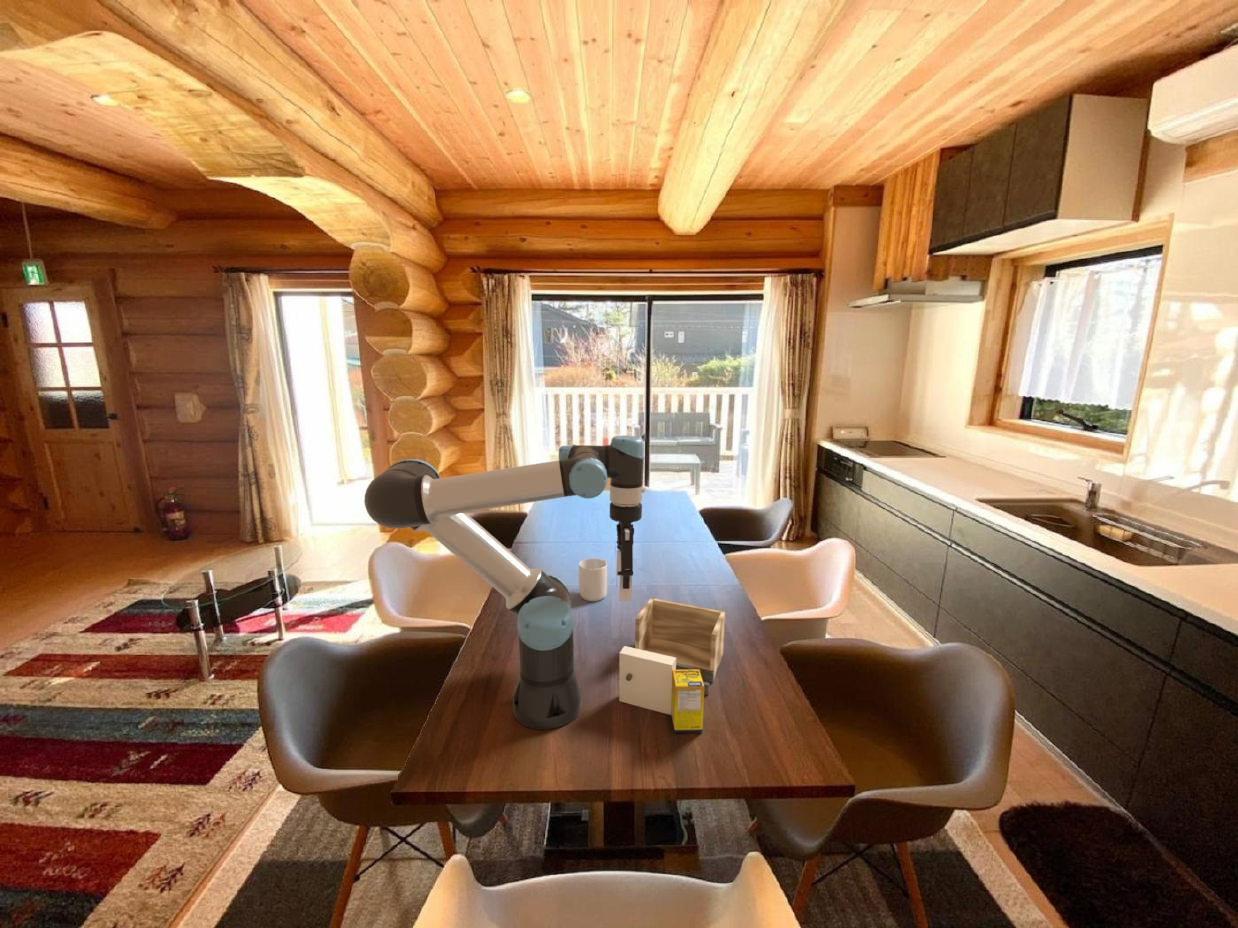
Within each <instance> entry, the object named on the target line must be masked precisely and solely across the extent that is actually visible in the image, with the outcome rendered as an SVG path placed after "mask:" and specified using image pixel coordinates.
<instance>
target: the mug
mask: <svg viewBox="0 0 1238 928" xmlns="http://www.w3.org/2000/svg"><path fill="white" fill-rule="evenodd" d="M578 585H579V586H578V589H579V596H580V597H581V598H582V599H583V600H585V601H588V602H598V601H602V600H603V599H605V597H606V596H607V594H608V562H607V561H606V560H604V559H602V558H596V557H595V558H594V557H593V558H586V559H583V560H581V561H580V562H578Z"/></svg>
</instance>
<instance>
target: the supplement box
mask: <svg viewBox="0 0 1238 928" xmlns="http://www.w3.org/2000/svg"><path fill="white" fill-rule="evenodd" d="M703 682H704V681H703V680H702V677H701V673H700V670H699V669H689V670H688V669H687V670H672V700H671V715H670V716H671V721H672V725H673V726H672V727H673V730H674V731H673V732H674V734H683V733H684V734H685V733H686V734H689V733H703V731H704V730H703V729H704V728H703V727H704V704H705V703H704V701H705V700H704V699H705V694H704V684H703Z"/></svg>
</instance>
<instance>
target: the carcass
mask: <svg viewBox="0 0 1238 928" xmlns="http://www.w3.org/2000/svg"><path fill="white" fill-rule="evenodd" d="M726 612H727V611H723V610H719V609H714V608H713V609H712V608H708V607H702V606H699V605H698V606H696V605H692V604H687V603H681V602H676V601H671V600H664V599H661V598H655V597H650V598H649V600H648V601H647V602H646V604H645V605H644V607H643V608H642V609H641V610H640V612H639V613H638V614H637V616H636V617H635V626H634V627H635V630H634V631H635V635H634V636H635V637H634V638H635V639H634V640H635V642H634V648H636V649H640V650H645V651H649V652H654V653H658V654H662V655H667V656H671V657H675V658H676V670H687V669H688V670H689V669H699V670H700V673H701V677H702V680H703V684H704V696H709V694H710V685H711V684H713V683H714V681H715V679H716V677H717V672H718V670H719V668H720V665H721V662H722V659H723V656H724V654H725V653H724V652H725V651H724V649H725V648H724V647H725V633H726V631H725V630H726V615H727V614H726Z"/></svg>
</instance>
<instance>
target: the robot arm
mask: <svg viewBox="0 0 1238 928" xmlns="http://www.w3.org/2000/svg"><path fill="white" fill-rule="evenodd" d="M644 445H645V444H644V440H643V439H642V438H640V437H639V436H635V435H616V436H613V437H612V438H611V441H610V444H607V445H582V444H581V445H579V444H577V445H576V444H572V445H561V446H560V447H559V448H558V460H552V461H546V462H540V463H533V464H526V465H525V464H524V465H519V466H513V467H507V468H501V469H493V470H486V471H481V472H473V473H467V474H460V475H454V476H448V477H440V474H439V472H438V471H437V469H436V468H435V467H434V466H433V465H432V464H431V463H429V462H427V461H425V460H422V459H418V458H409V459H408V458H407V459H404V460H400V461H397V462H395V463H393V464H391V466H389V467H388V468H387V469H386V470H384V471H383V472H382V473H380V474H379V475H377V476H376V477H375V478H374V479H372V481H370V483H369V484H368V486H367V488H366V490H365V494H364V499H363V500H364V507H365V509H366V512H367V514H368V516H369V517H370V518H371V519H372V520H373V522H375V523H377V524H378V525H380V526H382V527H385V528H389V529H407V528H411V529H412V530H413V531H415V532H427V533H428V534H429V535H431V537H433V538H434V539H435V540H436V541H438V542H439V543H440V544H441V545H442V546H444V547H445V548H446V549H447V550H448V551H450V553H452V554H453V555H454V556H456V557H457V559H459V560H460V561H461V562H462V563H464V565H466V566H467V567H469V568H470V569H471V570H472V571H473V572H475V573H476V574H477V575H478V576H479V577H480V578H482V579H483V580H484V581H485V582H487V584H489V585H490V586H492V588H493V589H495V590H496V591H497V592H499V594H501V595H502V596H503V597H504V598H505V606H506V609H508V610H509V611H510V612H511V613H512V614H514V615H515V616H516V617H517V621H516V631H517V635H518V636H517V637H518V662H519V663H518V665H519V678H518V681H517V685H516V687H515V691H514V694H513V698H512V712H513V715H514V717H515V718H516V720H517V722H519V723H520V724H521V725H523V726H525V727H528V728H531V729H535V730H551V729H556V728H560V727H562V726H565V725H567V724H569V723H570V722H572V721H574V720H575V719H576V718H577V717H578V715H579V714H580V712H581V711H582V707H583V693H582V689H581V687H580V684H579V681H578V678H577V676H576V674H575V667H574V664H575V663H574V662H575V661H574V626H575V625H574V624H575V621H574V615H573V611H572V597H571V593H570V591H569V589H568V587H567V585H566V583H565V582H564V581H563V580H562V579H561V578H559V577H558V576H556V575H553V574H546V573H545V572H544V571H543V570H542V569H541V568H540V567H539V568H530V567H529V566H528V565H527V564H526V563H524V562H523V561H522V560H521V559H520V558H518V557H517V556H516V555H515V554H514V553H513V552H512V551H510V550H509V549H508V548H507V547H506V546H505V545H504V544H502V543H501V542H500V541H499V540H498V539H497V538H496V537H495V536H493V535H492V534H491V533H490V532H489V531H488V530H487V529H485V528H484V527H483V526H482V525H480V523H478V522H477V521H476V520H475V519H474V518H472V517H471V515H469V514H468V513H473V512H479V511H485V510H491V509H497V508H498V509H499V508H504V507H510V506H517V505H523V504H528V503H529V504H530V503H534V502H541V501H542V502H543V501H548V500H553V499H554V500H555V499H559V498H560V499H561V498H566V497H573V496H577V497H580V498H583V499H593V498H597V497H599V496H600V495H601V494H602V493H603V492H604V491H605V489H606V487H607V486H608V485H607V484H608V479H610V482H609V483H610V485H609V501H610V503H609V518H610V520H612V521H614V522H617V524H616V536H617V537H616V544H617V545H616V548H617V550H616V576H617V577H619V595H618V596H619V601H623V602H625V601H626V602H627V601H630V602H631V601H632V593H633V592H632V591H633V590H632V589H633V587H632V585H633V576H634V569H633V568H634V565H633V564H634V562H633V561H634V558H633V556H634V555H633V553H634V549H633V546H634V536H635V528H634V524H632V523H634V522H635V523H636V522H638V521H640V520H641V519H642V517H643V516H642V515H643V513H642V512H643V504H642V503H641V502H642V501H643V494H644V493H645V492H646V490H645V488H643V483H644V482H643V481H644V480H643V479H644V463H645V462H644V460H645V454H644V453H645V452H644Z"/></svg>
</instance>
